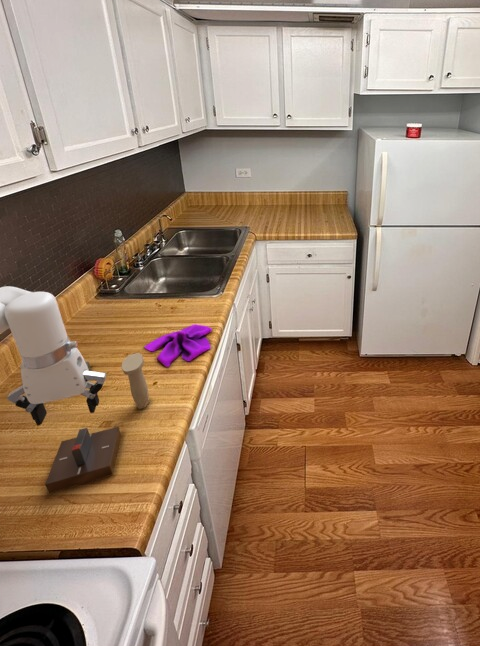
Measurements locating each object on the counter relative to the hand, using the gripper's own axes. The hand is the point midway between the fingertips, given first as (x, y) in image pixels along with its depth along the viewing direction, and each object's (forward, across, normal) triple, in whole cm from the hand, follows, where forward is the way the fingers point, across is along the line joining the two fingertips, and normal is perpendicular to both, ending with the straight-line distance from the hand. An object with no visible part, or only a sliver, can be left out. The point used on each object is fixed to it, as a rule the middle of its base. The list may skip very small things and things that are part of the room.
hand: (68, 413), depth 72 cm
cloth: (+14, -20, -34) cm, 41 cm away
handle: (+14, -11, -12) cm, 22 cm away
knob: (+11, -1, +1) cm, 11 cm away
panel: (+14, -1, +1) cm, 14 cm away
